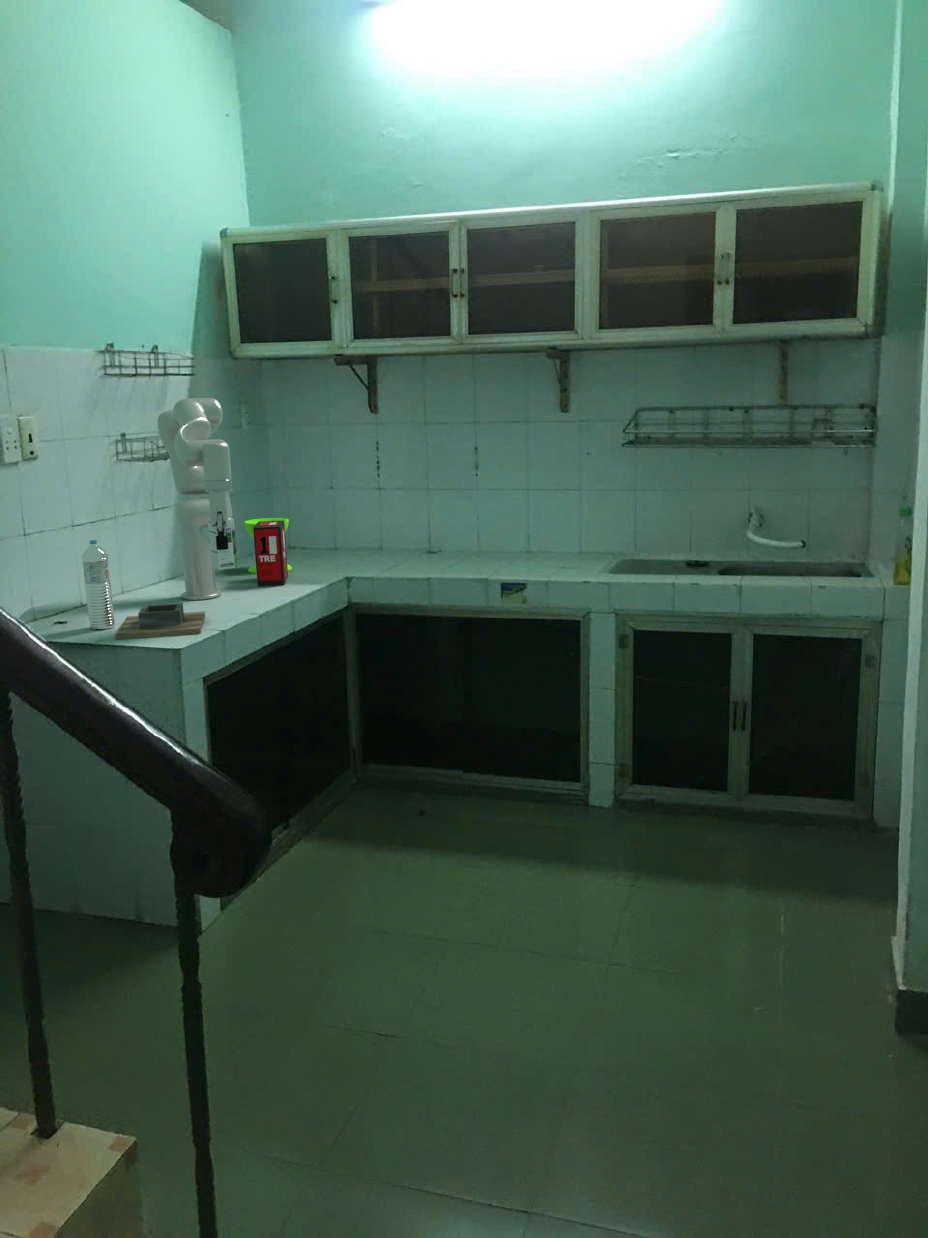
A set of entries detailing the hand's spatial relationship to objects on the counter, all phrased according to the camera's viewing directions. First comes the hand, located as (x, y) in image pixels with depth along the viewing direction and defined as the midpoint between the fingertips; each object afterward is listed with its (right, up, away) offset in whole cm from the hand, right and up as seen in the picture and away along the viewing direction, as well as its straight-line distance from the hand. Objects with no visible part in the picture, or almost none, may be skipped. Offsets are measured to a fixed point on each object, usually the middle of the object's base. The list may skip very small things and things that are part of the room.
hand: (223, 546), depth 291 cm
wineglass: (-2, -3, +80) cm, 80 cm away
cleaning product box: (+4, -8, +56) cm, 57 cm away
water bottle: (-33, -24, -6) cm, 41 cm away
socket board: (-15, -23, -8) cm, 29 cm away
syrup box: (0, -6, +2) cm, 6 cm away
